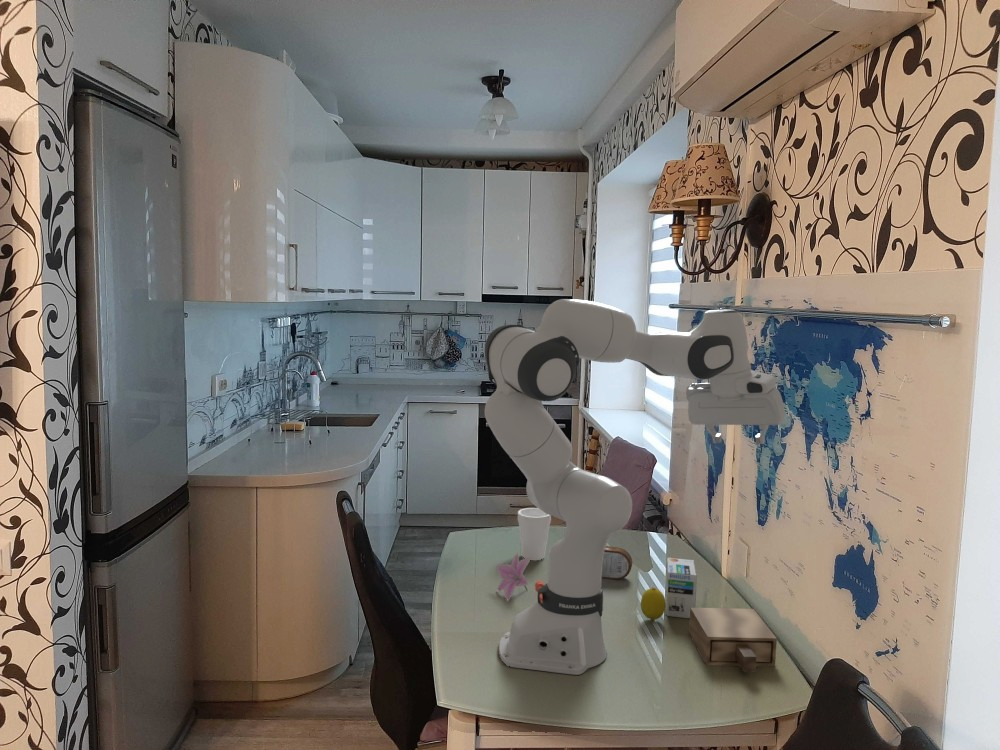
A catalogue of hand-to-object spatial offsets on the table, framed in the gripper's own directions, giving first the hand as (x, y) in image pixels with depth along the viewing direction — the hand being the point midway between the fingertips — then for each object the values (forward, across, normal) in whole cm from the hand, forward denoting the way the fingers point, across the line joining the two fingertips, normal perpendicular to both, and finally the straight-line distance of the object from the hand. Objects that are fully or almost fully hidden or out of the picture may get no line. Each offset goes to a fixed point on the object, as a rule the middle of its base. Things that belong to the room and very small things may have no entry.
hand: (738, 442), depth 160 cm
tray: (+39, 0, -19) cm, 44 cm away
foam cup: (+38, -65, +4) cm, 75 cm away
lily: (+34, -54, -20) cm, 67 cm away
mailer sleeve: (+40, -2, -17) cm, 44 cm away
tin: (+40, -42, +2) cm, 58 cm away
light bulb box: (+42, -18, -4) cm, 45 cm away
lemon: (+39, -20, -14) cm, 46 cm away
